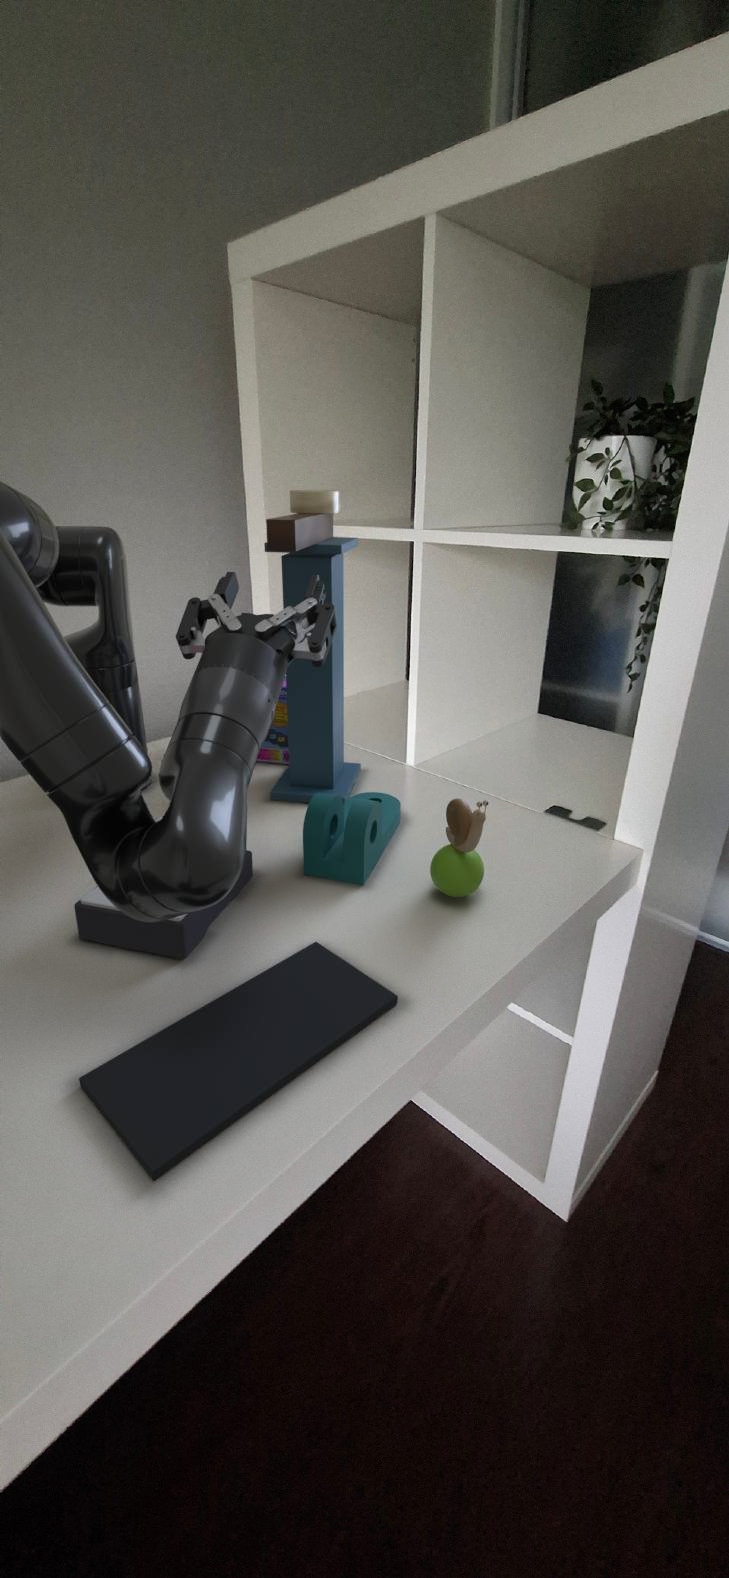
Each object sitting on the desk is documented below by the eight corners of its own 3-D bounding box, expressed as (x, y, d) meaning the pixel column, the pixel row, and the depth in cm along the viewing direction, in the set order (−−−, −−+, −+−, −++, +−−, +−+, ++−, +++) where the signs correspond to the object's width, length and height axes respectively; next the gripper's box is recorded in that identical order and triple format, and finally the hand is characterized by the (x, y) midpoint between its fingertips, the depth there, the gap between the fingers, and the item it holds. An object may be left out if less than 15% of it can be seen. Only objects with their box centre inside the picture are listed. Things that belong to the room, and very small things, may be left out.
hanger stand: (344, 806, 89) (344, 545, 76) (270, 800, 91) (257, 543, 77) (360, 770, 100) (363, 537, 87) (294, 765, 101) (286, 535, 88)
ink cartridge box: (235, 761, 103) (228, 665, 97) (248, 748, 108) (242, 656, 102) (298, 766, 101) (295, 670, 95) (309, 753, 106) (306, 660, 100)
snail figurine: (450, 917, 67) (458, 807, 62) (419, 884, 72) (425, 780, 67) (497, 905, 69) (509, 797, 64) (464, 874, 74) (472, 772, 69)
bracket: (363, 885, 72) (364, 818, 69) (303, 874, 74) (301, 808, 71) (405, 812, 88) (408, 755, 84) (355, 804, 89) (355, 748, 86)
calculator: (253, 844, 72) (180, 918, 59) (254, 880, 74) (184, 960, 60) (160, 829, 75) (70, 897, 61) (163, 865, 76) (76, 938, 63)
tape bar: (310, 552, 69) (309, 494, 67) (253, 550, 70) (250, 492, 68) (345, 537, 85) (345, 490, 83) (298, 536, 86) (297, 489, 84)
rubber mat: (153, 1181, 42) (152, 1172, 41) (80, 1086, 48) (78, 1077, 48) (397, 1003, 56) (398, 995, 56) (316, 948, 62) (315, 941, 62)
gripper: (305, 674, 55) (340, 550, 64) (139, 664, 57) (196, 545, 66) (318, 734, 61) (348, 613, 70) (167, 723, 63) (215, 607, 72)
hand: (274, 580), depth 68 cm, fingers open, 8 cm apart
